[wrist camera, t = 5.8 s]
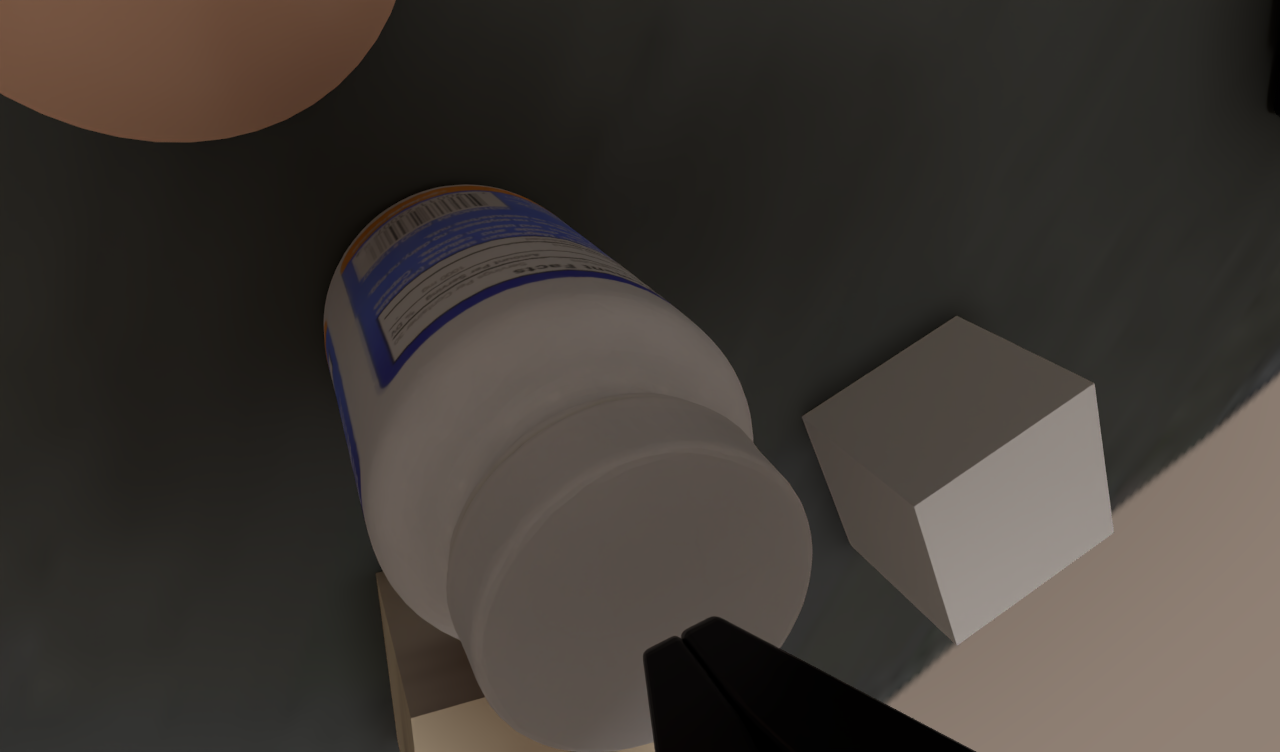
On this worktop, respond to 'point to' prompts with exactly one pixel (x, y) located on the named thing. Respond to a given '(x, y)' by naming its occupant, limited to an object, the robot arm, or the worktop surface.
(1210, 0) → the worktop surface
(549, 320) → the pill bottle
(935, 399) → the grey block
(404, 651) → the birch block
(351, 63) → the tan rounded cylinder
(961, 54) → the worktop surface
